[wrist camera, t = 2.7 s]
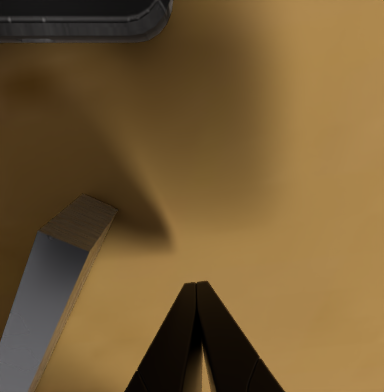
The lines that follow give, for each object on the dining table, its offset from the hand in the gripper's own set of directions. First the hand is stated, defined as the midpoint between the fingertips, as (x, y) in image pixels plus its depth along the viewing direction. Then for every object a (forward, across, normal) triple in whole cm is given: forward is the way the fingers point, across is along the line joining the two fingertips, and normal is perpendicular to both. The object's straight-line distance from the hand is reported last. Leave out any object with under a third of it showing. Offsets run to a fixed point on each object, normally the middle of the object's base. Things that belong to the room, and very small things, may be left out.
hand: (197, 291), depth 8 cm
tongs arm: (+2, +10, +5) cm, 12 cm away
